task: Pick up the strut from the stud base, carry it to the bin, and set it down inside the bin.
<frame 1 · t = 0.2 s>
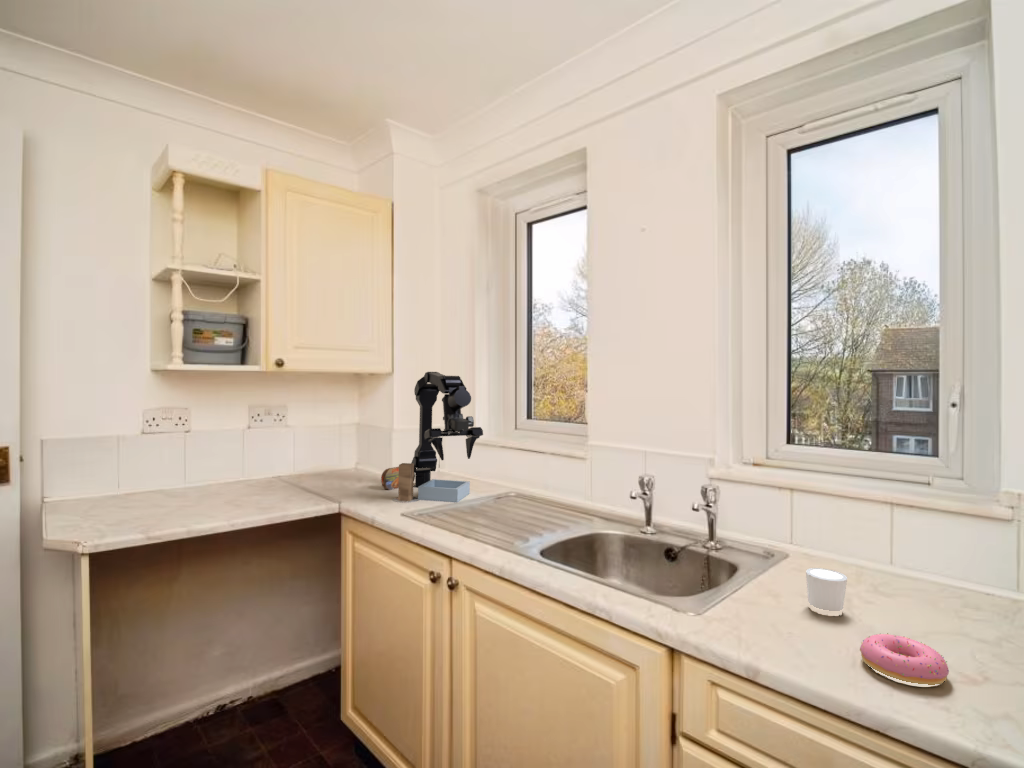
hand: (455, 459, 179), 16 cm above the counter, tool pointing down, fingers open, 9 cm apart
stud base: (405, 501, 186), on the counter
tin: (398, 489, 206), on the counter
doughnut: (902, 673, 83), on the counter
white cylinder: (825, 611, 104), on the counter
strut: (405, 499, 186), point 1 cm above the counter, touching stud base
bin: (444, 498, 192), on the counter
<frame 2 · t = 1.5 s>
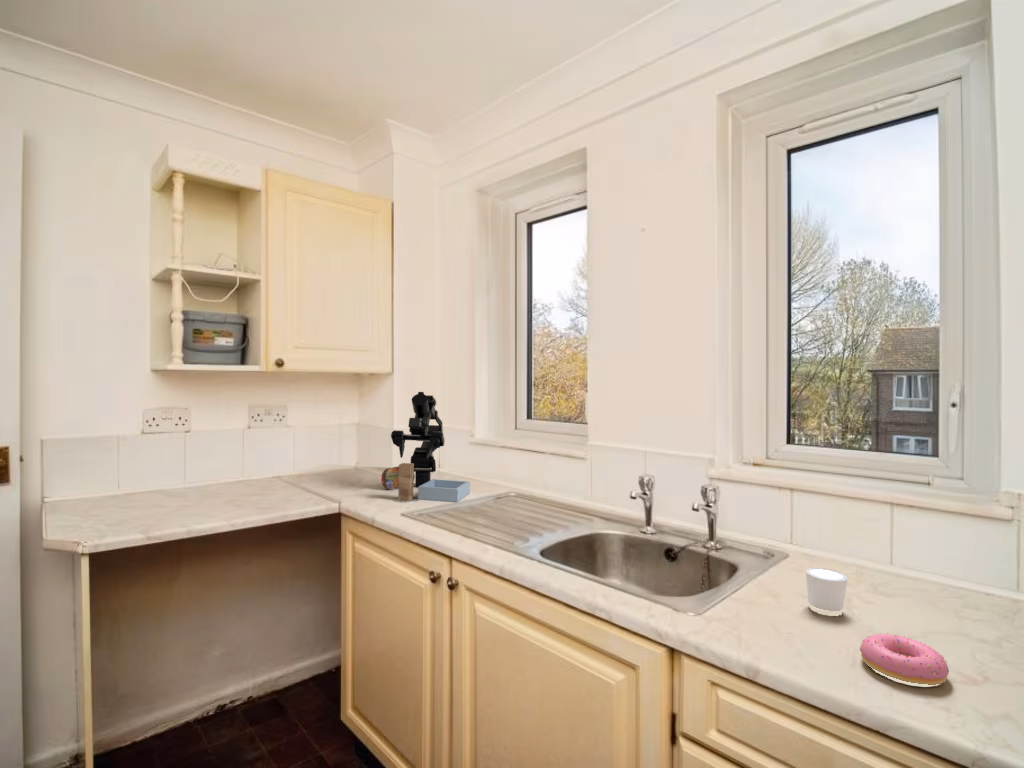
hand: (413, 457, 194), 14 cm above the counter, tool tilted 45°, fingers open, 9 cm apart
tin: (398, 489, 206), on the counter, touching arm
everything else where it was.
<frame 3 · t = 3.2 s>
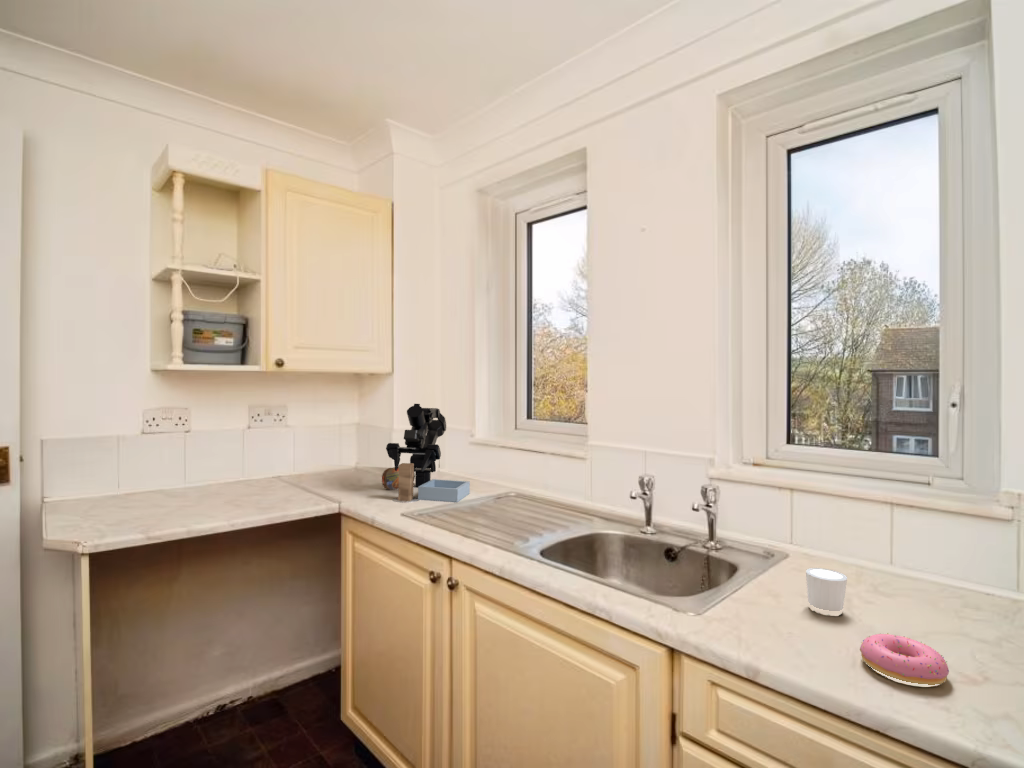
hand: (408, 470, 189), 10 cm above the counter, tool tilted 45°, fingers open, 9 cm apart
nothing on the counter moved.
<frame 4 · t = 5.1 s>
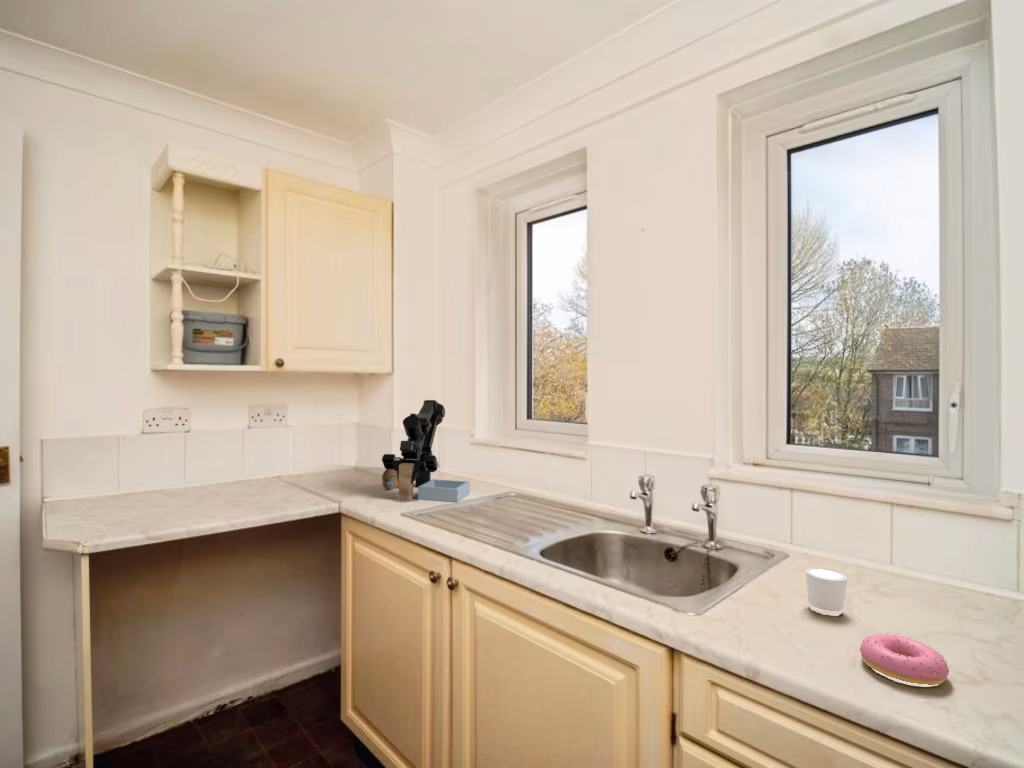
hand: (404, 482, 185), 7 cm above the counter, tool tilted 45°, fingers closed on strut, 4 cm apart
strut: (405, 499, 186), point 1 cm above the counter, touching gripper, stud base
everything else where it was.
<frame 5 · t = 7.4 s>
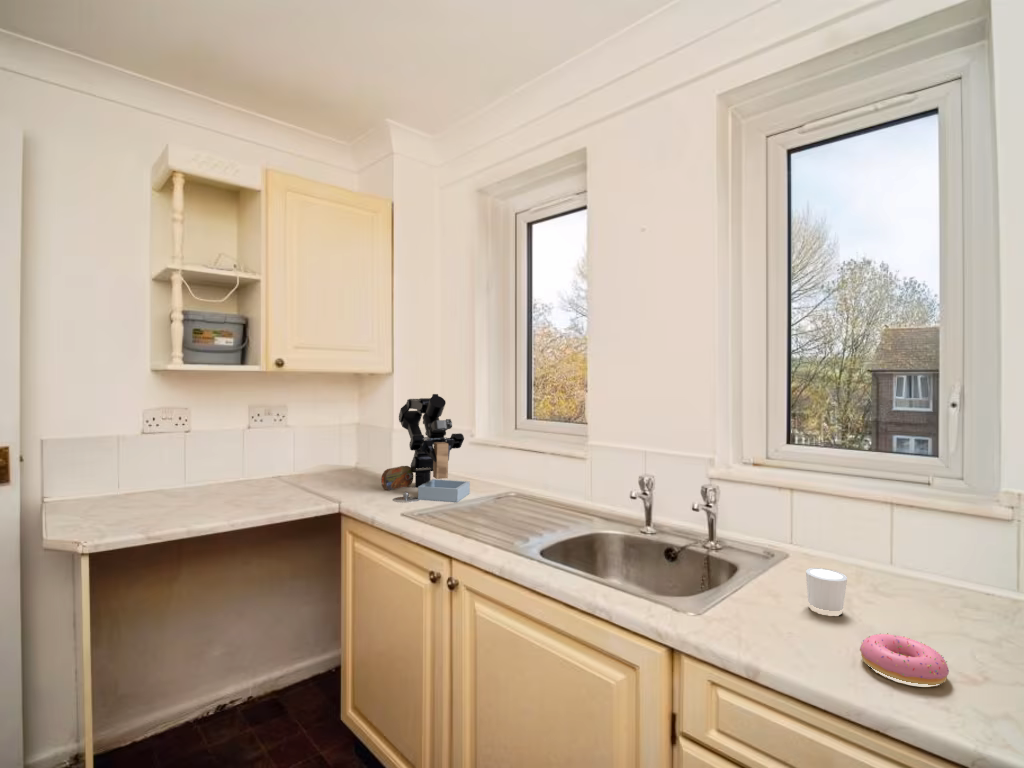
hand: (442, 460, 189), 13 cm above the counter, tool tilted 45°, fingers closed on strut, 4 cm apart
tin: (397, 489, 206), on the counter
strut: (440, 477, 191), point 7 cm above the counter, touching gripper
everything else where it was.
when the fingers open (8 cm above the counter, at t = 9.1 s): strut drops 1 cm, resting on bin.
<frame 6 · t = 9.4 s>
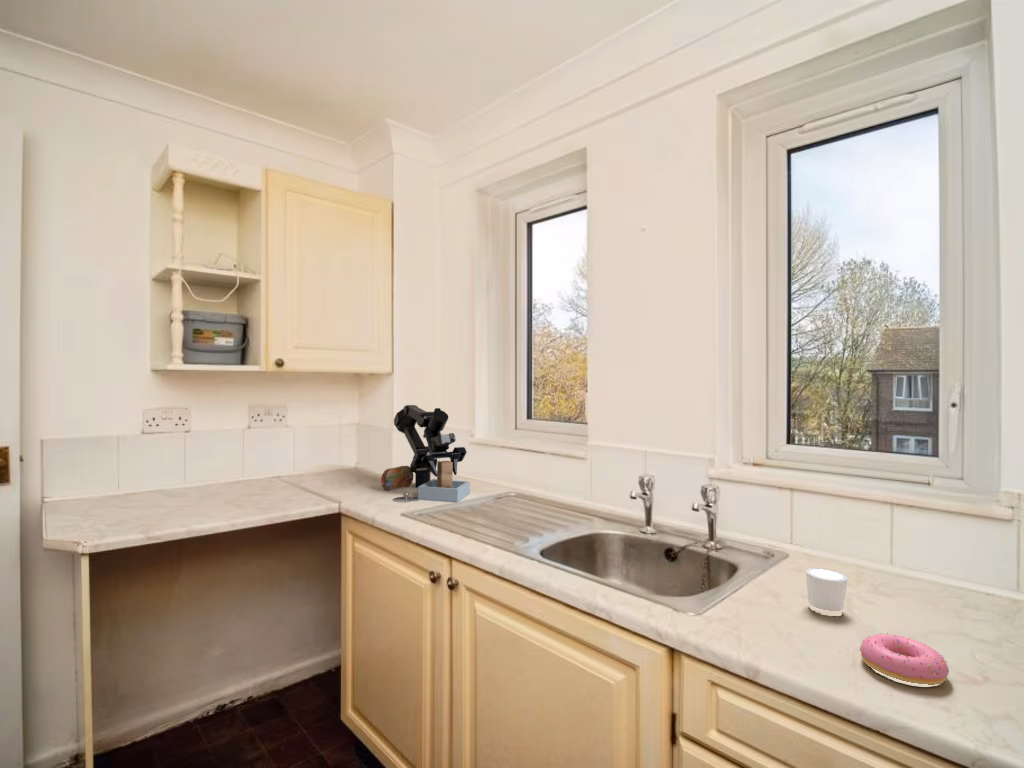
hand: (446, 475, 191), 8 cm above the counter, tool tilted 45°, fingers open, 7 cm apart
strut: (444, 496, 192), point 1 cm above the counter, touching bin
everything else where it was.
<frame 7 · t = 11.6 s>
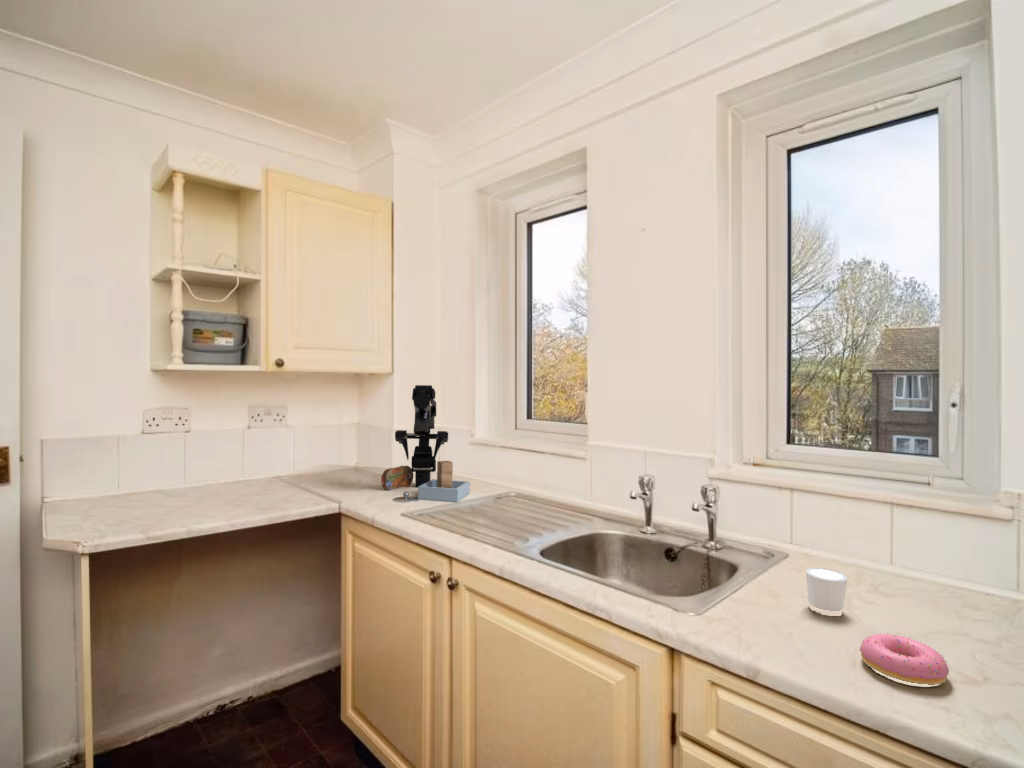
hand: (421, 459, 195), 13 cm above the counter, tool tilted 20°, fingers open, 9 cm apart
nothing on the counter moved.
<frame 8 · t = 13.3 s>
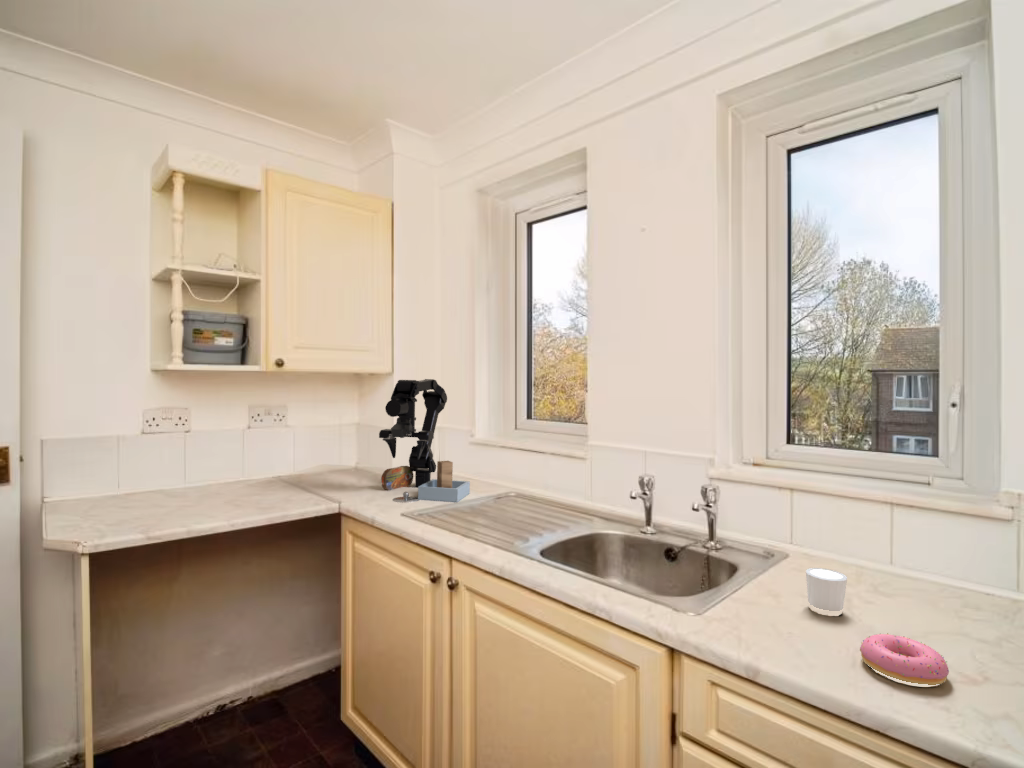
hand: (406, 458, 196), 13 cm above the counter, tool pointing down, fingers open, 9 cm apart
nothing on the counter moved.
at the end: strut inside the target area on the bin (0.0 cm from its centre), point 0.8 cm above the bin's base; the gripper is holding nothing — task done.
